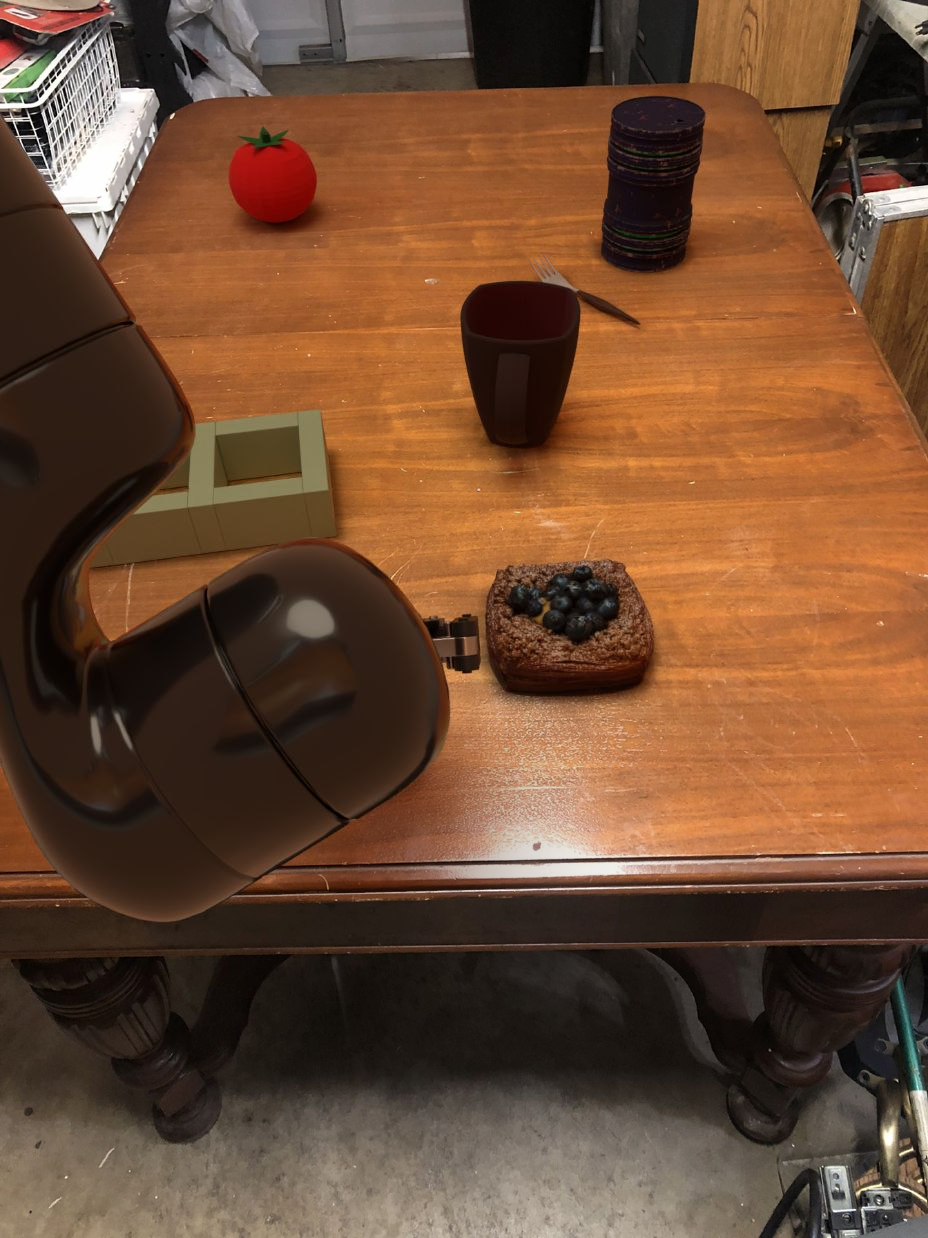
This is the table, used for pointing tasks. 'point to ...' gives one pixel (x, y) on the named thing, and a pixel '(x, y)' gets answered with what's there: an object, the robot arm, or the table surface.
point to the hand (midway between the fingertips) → (355, 641)
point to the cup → (519, 357)
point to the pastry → (567, 629)
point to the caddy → (235, 493)
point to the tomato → (272, 178)
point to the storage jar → (651, 182)
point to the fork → (594, 300)
